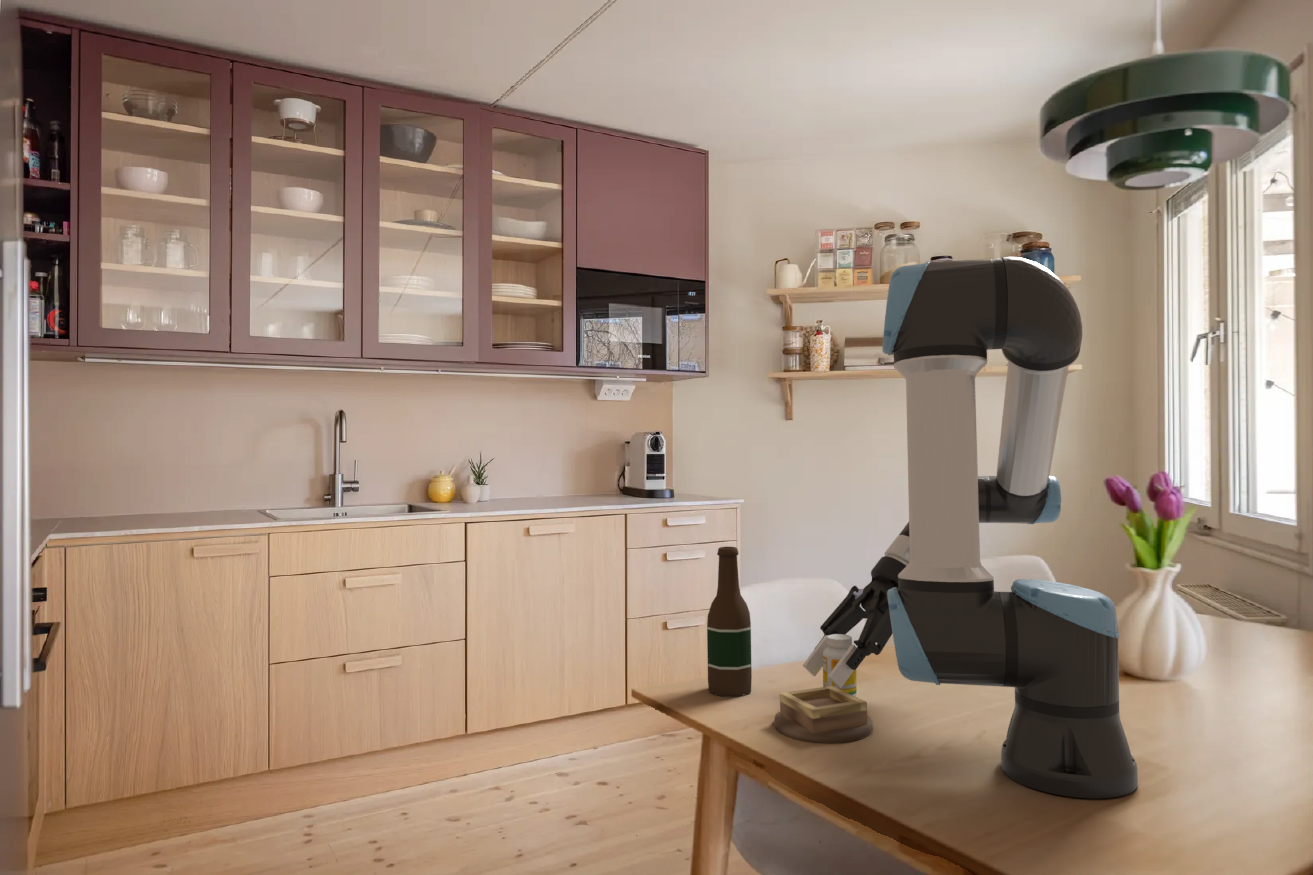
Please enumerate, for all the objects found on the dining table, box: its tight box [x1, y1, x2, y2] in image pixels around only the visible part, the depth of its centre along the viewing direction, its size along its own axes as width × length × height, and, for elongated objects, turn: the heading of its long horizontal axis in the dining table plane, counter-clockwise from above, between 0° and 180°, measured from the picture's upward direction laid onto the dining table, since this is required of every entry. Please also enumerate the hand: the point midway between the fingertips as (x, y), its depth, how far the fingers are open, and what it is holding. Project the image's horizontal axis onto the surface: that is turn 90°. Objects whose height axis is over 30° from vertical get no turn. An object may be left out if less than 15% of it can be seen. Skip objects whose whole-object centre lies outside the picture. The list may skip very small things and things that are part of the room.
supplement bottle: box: [822, 634, 858, 697], centre depth 141 cm, size 5×5×10 cm
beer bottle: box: [706, 546, 753, 697], centre depth 145 cm, size 8×8×24 cm
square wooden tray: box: [774, 686, 874, 744], centre depth 126 cm, size 14×14×4 cm
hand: (821, 676), depth 139 cm, fingers open, 7 cm apart
